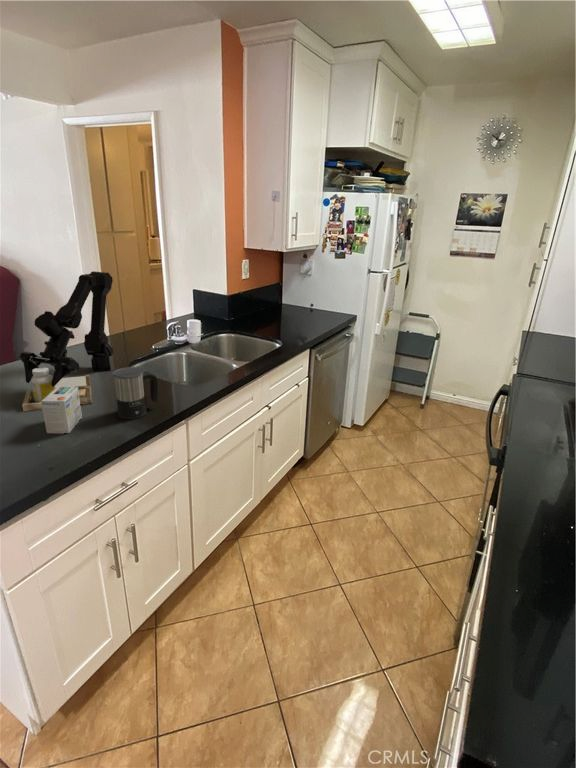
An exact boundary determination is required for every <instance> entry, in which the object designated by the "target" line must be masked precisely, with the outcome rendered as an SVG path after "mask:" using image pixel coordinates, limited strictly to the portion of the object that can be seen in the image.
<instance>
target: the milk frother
mask: <svg viewBox="0 0 576 768" xmlns="http://www.w3.org/2000/svg"><path fill="white" fill-rule="evenodd" d="M112 377H113V379H114V386H115V394H116V395H115V396H116V403H117V404H116V405H117V406H116V407H117V417H119V418H120V419H123V420H135V419H139V418H142V417H144V416H145V415H146V414H147V413H148V411H147V397H146V387H145V380H149V387H150V388H149V389H150V390H149V392H150V394H149V395H150V400H151V401H152V402H153V403H156V402H158V401H159V400H158V399H159V379H158V377H157V375H155V373H153V372H151V371H147V370H146V371H144V370H143V369H142V368H140V367H134V366H132V367H131V366H130V367H129V366H128V367H122V368H117V369H116V370H114V371H113V372H112Z"/></svg>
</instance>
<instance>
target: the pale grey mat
mask: <svg viewBox="0 0 576 768" xmlns="http://www.w3.org/2000/svg"><path fill="white" fill-rule="evenodd" d="M76 386H87V385H86V377H85V375H83V376H72V377H71V376H70V377H63V378H62V379H61V380H60V381H59V382H58V383H57V384H56V385H55V388H56V387H76Z"/></svg>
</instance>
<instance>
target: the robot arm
mask: <svg viewBox="0 0 576 768" xmlns="http://www.w3.org/2000/svg"><path fill="white" fill-rule="evenodd" d="M113 282H114V279H113V277H112V276H111V274H110V273H109V272H105V271H96V270H95V271H91V272H90V273H85V274H80V275H79V276H78V281H77V283H76V284H75V285H76V286H75V287H74V288H73V289H74V290H73V291H72V293H71V295H70V297H69V299H68V301H67V303H65V304H64V305H62V306H61V307H60V308H59V309H58V311H56V313H55V314H54V313H53V312H52V311H48V310H46V311H44V313H42V314H39V315H38V316H37V317H36V318H35V319H34V326H35V327H36V328H37V329H38V330H40V331H41V332H42V333H43V334H44V335H45V336H46V337H49V339H48V341H47V340H45V341H44V343H43V344H44V345H45V347H44V350H43V351H40V353H39V356H38V355H37V354H35V353H34V352H29V351H22V352H20V355H19V357H18V359H19V360H21V361H20V362H22V364H23V366H24V367H23V368H24V372H25V373H24V375H25V382H26V383H27V384H29V383H31V379H32V377H34V375H33V373H32V370H33V369H35V368H40V366H41V364H45V365H46V364H47V365H50V366H52V367H53V368H54V373H53V376H52V377H53V379H52V384H51V386H53V387H54V386H55V385H56V384H57V383H58V382H59V381H60V380H61V379H62V378H65V376H66V375H69V374H73V373H74V372H79V369H80V364H79V362H77V360H75V359H74V358H72V357H69V356H67V354H68V350H67V346H68V344H69V341H70V339H71V340H74V339H75V334H74V333H73V332H74V331H72V330H69V329H78V328H79V326H80V325H81V321H82V318H83V315H82V310H83V307H84V305H85V304H86V301H87V300H88V298H89V295H90V294H91V293H92V301H91V319H90V331H88V333H86V334H84V341H83V345H84V349H85V351H86V354H87V356H92V357H91V358H90V362H91V369H92V370H93V372H107V371H108V372H109V371H111V370H112V368H111V367H112V366H111V362H110V361H111V360H110V357H112V356H113V355H114V348H113V347H112V346H111V345H110V344H109V338H108V335H107V334H106V332H105V327H106V326H105V325H106V311H107V310H106V308H107V295H108V294H109V293H110V292H111V290H112V284H113Z"/></svg>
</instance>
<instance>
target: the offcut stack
mask: <svg viewBox="0 0 576 768" xmlns="http://www.w3.org/2000/svg"><path fill="white" fill-rule="evenodd" d="M78 391H79V398H84V397H87V395H86V389H79V390H78Z"/></svg>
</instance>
